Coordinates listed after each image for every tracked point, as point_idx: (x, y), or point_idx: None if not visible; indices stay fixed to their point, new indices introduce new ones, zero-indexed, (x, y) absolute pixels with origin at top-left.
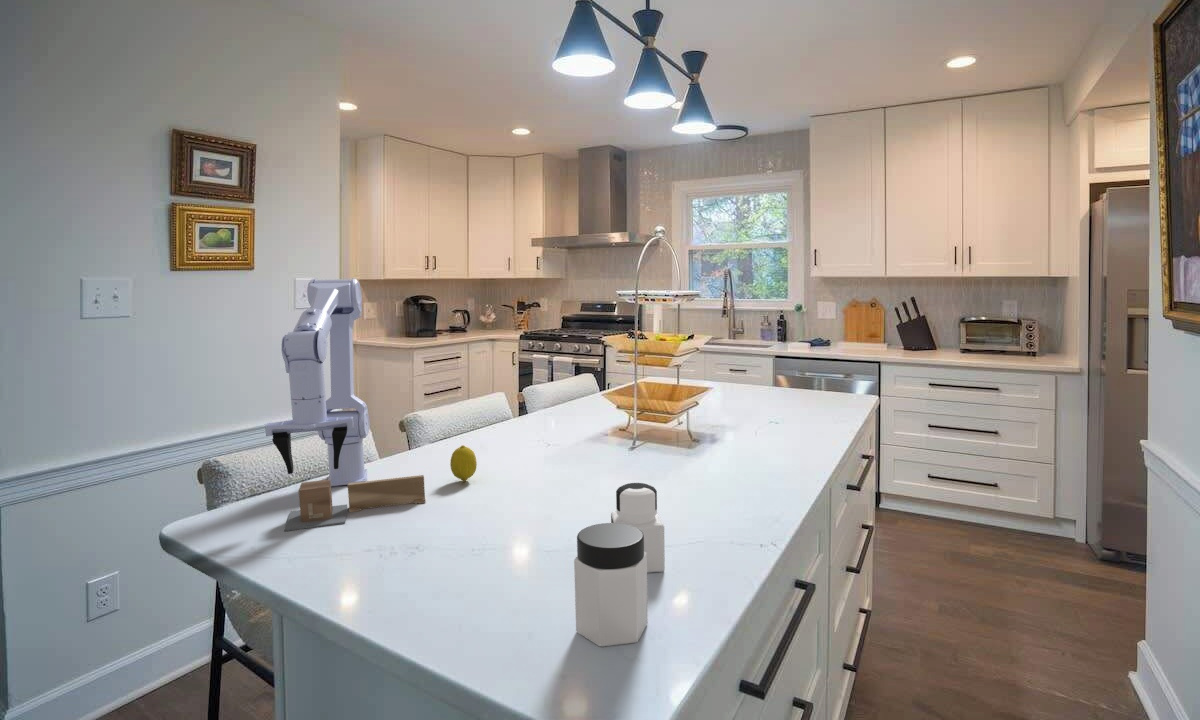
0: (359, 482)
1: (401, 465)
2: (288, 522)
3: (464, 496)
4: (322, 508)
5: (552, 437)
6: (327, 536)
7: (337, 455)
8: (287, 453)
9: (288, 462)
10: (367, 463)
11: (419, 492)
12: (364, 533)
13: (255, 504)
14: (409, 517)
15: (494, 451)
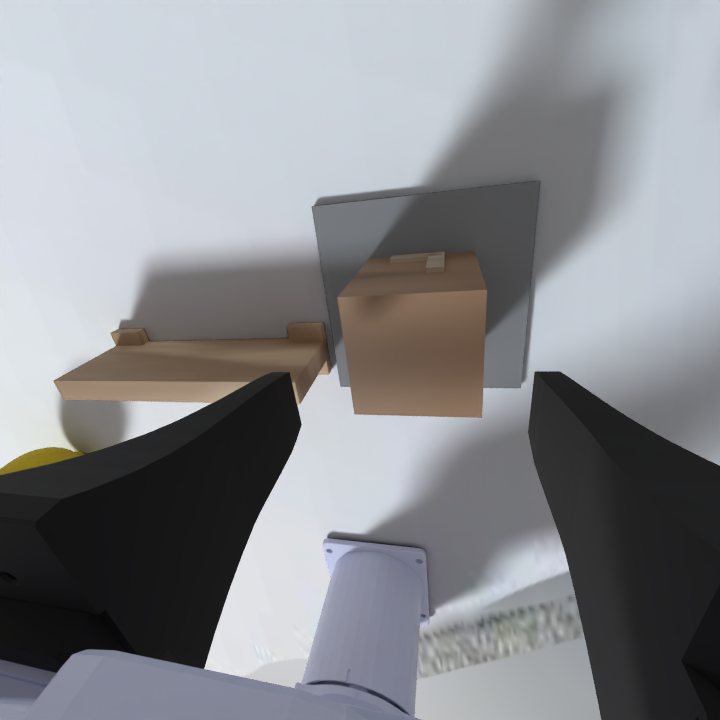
0: None
1: (268, 608)
2: (524, 270)
3: (34, 344)
4: (389, 267)
5: None
6: (353, 57)
7: (215, 404)
8: (618, 450)
9: (581, 405)
10: None
11: (113, 355)
12: (215, 55)
13: None
14: (115, 203)
15: None
